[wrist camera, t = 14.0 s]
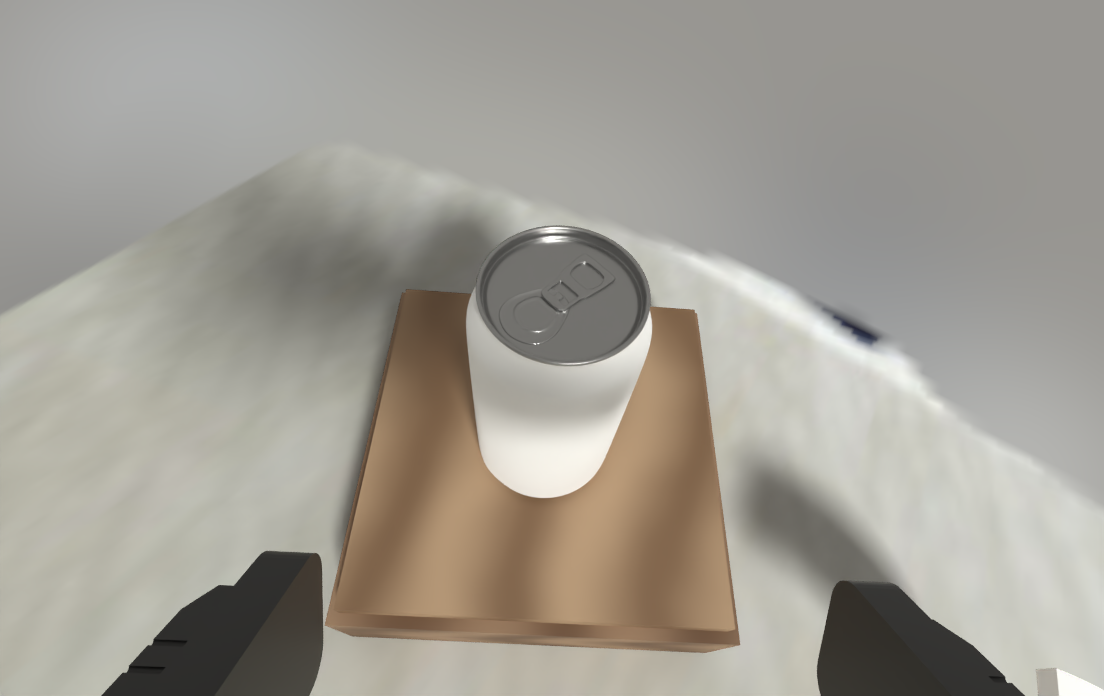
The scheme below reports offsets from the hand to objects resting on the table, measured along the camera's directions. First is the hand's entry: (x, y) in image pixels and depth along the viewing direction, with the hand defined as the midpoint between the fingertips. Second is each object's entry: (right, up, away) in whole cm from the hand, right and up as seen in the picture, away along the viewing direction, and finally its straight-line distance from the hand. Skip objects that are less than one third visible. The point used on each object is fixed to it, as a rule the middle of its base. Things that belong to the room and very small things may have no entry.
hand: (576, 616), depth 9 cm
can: (-1, 0, +19) cm, 19 cm away
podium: (-1, -3, +24) cm, 25 cm away
